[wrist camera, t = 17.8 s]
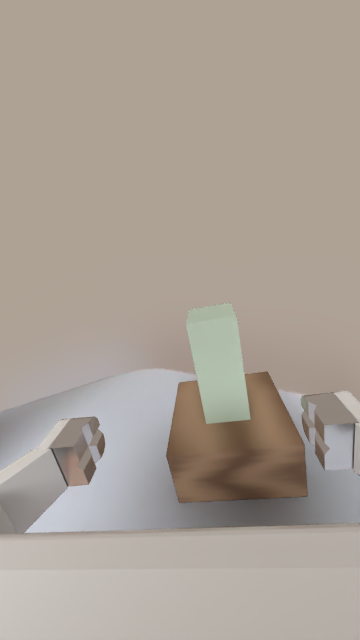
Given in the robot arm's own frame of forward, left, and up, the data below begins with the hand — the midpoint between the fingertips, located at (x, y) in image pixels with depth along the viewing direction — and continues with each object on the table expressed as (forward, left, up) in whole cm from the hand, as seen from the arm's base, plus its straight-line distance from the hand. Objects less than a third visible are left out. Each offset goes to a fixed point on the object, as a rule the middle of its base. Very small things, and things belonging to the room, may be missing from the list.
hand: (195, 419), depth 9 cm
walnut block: (+1, +15, -17) cm, 23 cm away
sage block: (+1, +15, -11) cm, 19 cm away
